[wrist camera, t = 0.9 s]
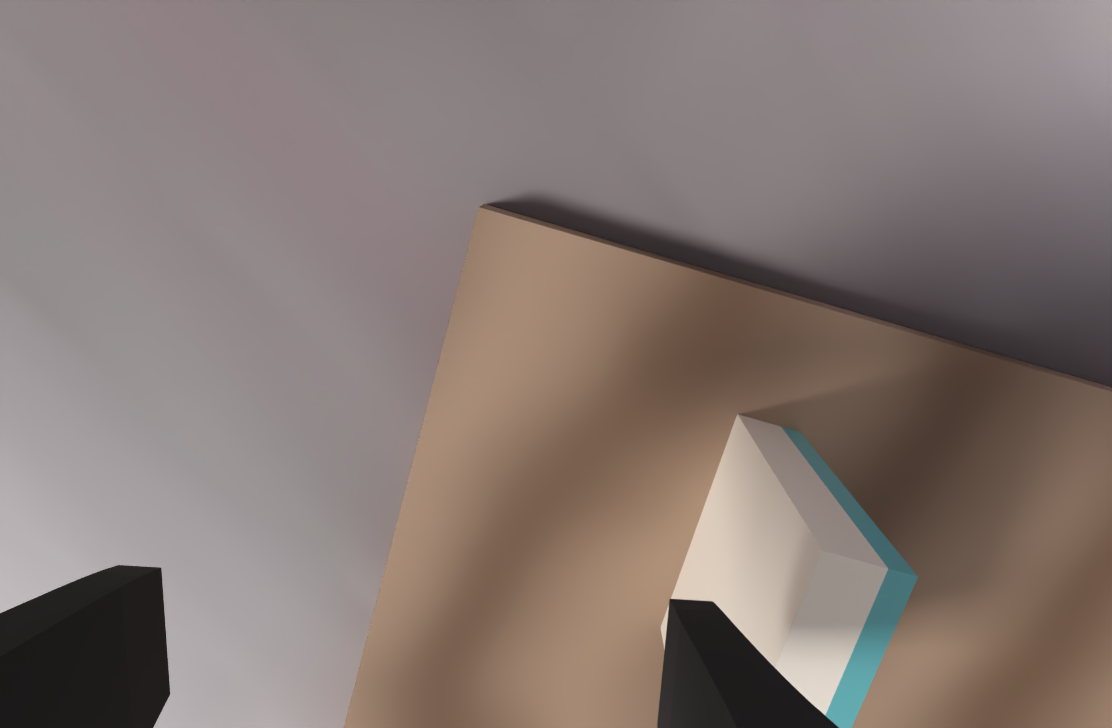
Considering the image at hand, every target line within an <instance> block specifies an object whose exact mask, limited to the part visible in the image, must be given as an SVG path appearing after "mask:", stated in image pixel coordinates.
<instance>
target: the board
mask: <svg viewBox="0 0 1112 728" xmlns="http://www.w3.org/2000/svg"><path fill="white" fill-rule="evenodd" d="M737 414H739V415H742V416H746V417H749V418H753V419H756V420H760V421H763V422H767V423H770V424H774V425H777V426H781V427H784V428H788V429H791V430H795V431H798V432H801V433H802V434H803V436H804V437H805V438H806V439H807V441H808V442H809V443H810V444H811V446H812V447H813V448H814V449H815V450H816V452H817V453H818V454H819V455H820V457H821V458H822V459H823V460H824V462H825V463H826V464H827V465H828V466H829V468H830V469H831V470H832V471H833V473H834V474H835V475H836V476H837V478H838V479H839V480H840V481H841V482H842V484H843V485H844V486H845V487H846V489H847V490H848V491H849V492H850V494H851V495H852V496H853V497H854V499H855V500H856V501H857V502H858V503H859V505H860V506H861V507H862V508H863V510H864V511H865V512H866V513H867V515H868V516H869V517H870V518H871V519H872V521H873V522H874V523H875V524H876V526H877V527H878V528H879V529H880V531H881V532H882V533H883V534H884V535H885V537H886V538H887V539H888V540H889V542H890V543H891V544H892V545H893V547H894V548H895V549H896V550H897V551H898V553H899V554H900V555H901V556H902V558H903V559H904V560H905V561H906V563H907V564H908V565H909V566H910V567H911V569H912V570H913V571H914V572H915V574H916V575H917V576H918V579H917V581H916V583H915V585H914V588H913V590H912V592H911V594H910V597H909V599H908V601H907V603H906V606H905V608H904V610H903V612H902V615H901V617H900V619H899V622H898V624H897V626H896V628H895V631H894V633H893V635H892V637H891V640H890V642H889V644H888V646H887V649H886V651H885V653H884V656H883V658H882V660H881V662H880V665H879V667H878V669H877V671H876V674H875V676H874V678H873V680H872V683H871V685H870V687H869V689H868V692H867V694H866V696H865V699H864V701H863V703H862V705H861V708H860V710H859V712H858V714H857V717H856V719H855V721H854V723H853V726H852V728H1112V387H1109V386H1106V385H1102V384H1099V383H1095V382H1092V381H1089V380H1085V379H1082V378H1078V377H1075V376H1072V375H1068V374H1065V373H1061V372H1058V371H1054V370H1051V369H1048V368H1044V367H1041V366H1037V365H1034V364H1030V363H1027V362H1024V361H1020V360H1017V359H1013V358H1010V357H1006V356H1003V355H1000V354H996V353H993V352H989V351H986V350H982V349H979V348H976V347H972V346H969V345H965V344H962V343H959V342H955V341H952V340H948V339H945V338H941V337H938V336H935V335H931V334H928V333H924V332H921V331H917V330H914V329H911V328H907V327H904V326H900V325H897V324H893V323H890V322H887V321H883V320H880V319H876V318H873V317H870V316H866V315H863V314H859V313H856V312H852V311H849V310H846V309H842V308H839V307H835V306H832V305H828V304H825V303H822V302H818V301H815V300H811V299H808V298H804V297H801V296H798V295H794V294H791V293H787V292H784V291H780V290H777V289H774V288H770V287H767V286H763V285H760V284H757V283H753V282H750V281H746V280H743V279H739V278H736V277H733V276H729V275H726V274H722V273H719V272H715V271H712V270H709V269H705V268H702V267H698V266H695V265H691V264H688V263H685V262H681V261H678V260H674V259H671V258H668V257H664V256H661V255H657V254H654V253H650V252H647V251H644V250H640V249H637V248H633V247H630V246H626V245H623V244H620V243H616V242H613V241H609V240H606V239H602V238H599V237H596V236H592V235H589V234H585V233H582V232H578V231H575V230H572V229H568V228H565V227H561V226H558V225H555V224H551V223H548V222H544V221H541V220H537V219H534V218H531V217H527V216H524V215H520V214H517V213H513V212H510V211H507V210H503V209H500V208H496V207H493V206H489V205H486V204H484V205H482V206H480V207H479V208H478V212H477V216H476V220H475V223H474V227H473V231H472V235H471V239H470V243H469V247H468V250H467V254H466V258H465V262H464V266H463V270H462V274H461V277H460V281H459V285H458V289H457V293H456V297H455V301H454V305H453V308H452V312H451V316H450V320H449V324H448V328H447V332H446V335H445V339H444V343H443V347H442V351H441V355H440V359H439V362H438V366H437V370H436V374H435V378H434V382H433V386H432V389H431V393H430V397H429V401H428V405H427V409H426V413H425V416H424V420H423V424H422V428H421V432H420V436H419V440H418V443H417V447H416V451H415V455H414V459H413V463H412V467H411V470H410V474H409V478H408V482H407V486H406V490H405V494H404V497H403V501H402V505H401V509H400V513H399V517H398V521H397V524H396V528H395V532H394V536H393V540H392V544H391V548H390V551H389V555H388V559H387V563H386V567H385V571H384V575H383V578H382V582H381V586H380V590H379V594H378V598H377V602H376V606H375V609H374V613H373V617H372V621H371V625H370V629H369V633H368V636H367V640H366V644H365V648H364V652H363V656H362V660H361V663H360V667H359V671H358V675H357V679H356V683H355V687H354V690H353V694H352V698H351V702H350V706H349V710H348V714H347V717H346V721H345V725H344V728H657V721H658V711H659V701H660V691H661V681H662V671H663V660H664V644H663V639H662V633H661V625H662V622H663V619H664V616H665V614H666V611H667V608H668V605H669V600H670V599H671V597H672V594H673V591H674V589H675V586H676V583H677V580H678V578H679V575H680V572H681V569H682V566H683V564H684V561H685V558H686V555H687V553H688V550H689V547H690V544H691V541H692V539H693V536H694V533H695V530H696V528H697V525H698V522H699V519H700V516H701V514H702V511H703V508H704V505H705V503H706V500H707V497H708V494H709V491H710V489H711V486H712V483H713V480H714V478H715V475H716V472H717V469H718V466H719V464H720V461H721V458H722V455H723V453H724V450H725V447H726V444H727V441H728V439H729V436H730V433H731V430H732V428H733V425H734V422H735V419H736V416H737Z"/></svg>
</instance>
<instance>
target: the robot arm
mask: <svg viewBox="0 0 1112 728" xmlns="http://www.w3.org/2000/svg"><path fill="white" fill-rule="evenodd" d="M169 695H170V686H169V672H168V658H167V644H166V630H165V615H164V601H163V587H162V573H161V568H156V567H139V566H123V565H118V566H115V567H111V568H108V569H105V570H102V571H99V572H97V573H94V574H91V575H89V576H86V577H84V578H81V579H79V580H76V581H74V582H71V583H69V584H67V585H64V586H62V587H60V588H57V589H55V590H53V591H50V592H48V593H46V594H43V595H41V596H39V597H37V598H34V599H32V600H30V601H27V602H25V603H23V604H21V605H18V606H16V607H14V608H11V609H9V610H7V611H5V612H2V613H0V728H153V727H154V725H155V723H156V721H157V719H158V717H159V715H160V713H161V711H162V709H163V707H164V705H165V703H166V701H167V699H168V697H169ZM657 728H839V727H838V726H836V725H835V724H834V723H833V722H832V721H831V720H830V719H829V718H827V717H826V716H825V715H824V714H823V713H822V712H821V711H820V710H818V709H817V708H816V707H815V706H814V705H813V704H812V703H811V702H809V701H808V700H807V699H806V698H805V697H804V696H803V695H802V694H801V693H800V692H799V691H798V690H797V689H796V688H795V687H794V686H793V685H792V684H791V683H790V682H789V681H788V680H787V679H786V678H784V677H783V676H782V675H781V674H780V672H779V671H778V670H777V669H776V668H775V667H774V666H773V665H772V664H771V663H770V662H769V661H768V660H767V659H766V658H765V657H764V656H763V655H762V654H761V653H760V652H759V651H758V650H757V649H756V648H755V646H754V645H753V644H752V643H751V642H750V641H749V640H748V639H747V638H746V637H745V636H744V635H743V633H742V632H741V631H740V630H739V629H738V628H737V627H736V626H735V625H734V624H733V622H732V621H731V620H730V619H729V618H728V617H727V616H726V615H725V614H724V612H723V611H722V610H721V609H720V608H719V607H718V606H717V605H716V604H715V603H714V602H713V601H699V600H683V599H670V600H669V610H668V620H667V630H666V640H665V650H664V660H663V671H662V681H661V691H660V701H659V711H658V721H657Z"/></svg>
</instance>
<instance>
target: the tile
mask: <svg viewBox="0 0 1112 728" xmlns="http://www.w3.org/2000/svg"><path fill="white" fill-rule="evenodd" d="M917 579H918V576H917V575H916V574H915V572H914V571H913V570H912V569H911V567H910V566H909V565H908V564H907V563H906V561H905V560H904V559H903V558H902V556H901V555H900V554H899V553H898V551H897V550H896V549H895V548H894V547H893V545H892V544H891V543H890V542H889V540H888V539H887V538H886V537H885V535H884V534H883V533H882V532H881V531H880V529H879V528H878V527H877V526H876V524H875V523H874V522H873V521H872V519H871V518H870V517H869V516H868V515H867V513H866V512H865V511H864V510H863V508H862V507H861V506H860V505H859V503H858V502H857V501H856V500H855V499H854V497H853V496H852V495H851V494H850V492H849V491H848V490H847V489H846V487H845V486H844V485H843V484H842V482H841V481H840V480H839V479H838V478H837V476H836V475H835V474H834V473H833V471H832V470H831V469H830V468H829V466H828V465H827V464H826V463H825V462H824V460H823V459H822V458H821V457H820V455H819V454H818V453H817V452H816V450H815V449H814V448H813V447H812V446H811V444H810V443H809V442H808V441H807V439H806V438H805V437H804V436H803V434H802V433H801V432H798V431H795V430H791V429H788V428H784V427H781V426H777V425H774V424H770V423H767V422H763V421H760V420H756V419H753V418H749V417H746V416H742V415H739V414H737V416H736V419H735V422H734V425H733V428H732V430H731V433H730V436H729V439H728V441H727V444H726V447H725V450H724V453H723V455H722V458H721V461H720V464H719V466H718V469H717V472H716V475H715V478H714V480H713V483H712V486H711V489H710V491H709V494H708V497H707V500H706V503H705V505H704V508H703V511H702V514H701V516H700V519H699V522H698V525H697V528H696V530H695V533H694V536H693V539H692V541H691V544H690V547H689V550H688V553H687V555H686V558H685V561H684V564H683V566H682V569H681V572H680V575H679V578H678V580H677V583H676V586H675V589H674V591H673V594H672V597H671V599H683V600H699V601H713V602H714V603H715V604H716V605H717V606H718V607H719V608H720V609H721V610H722V611H723V612H724V614H725V615H726V616H727V617H728V618H729V619H730V620H731V621H732V622H733V624H734V625H735V626H736V627H737V628H738V629H739V630H740V631H741V632H742V633H743V635H744V636H745V637H746V638H747V639H748V640H749V641H750V642H751V643H752V644H753V645H754V646H755V648H756V649H757V650H758V651H759V652H760V653H761V654H762V655H763V656H764V657H765V658H766V659H767V660H768V661H769V662H770V663H771V664H772V665H773V666H774V667H775V668H776V669H777V670H778V671H779V672H780V674H781V675H782V676H783V677H784V678H786V679H787V680H788V681H789V682H790V683H791V684H792V685H793V686H794V687H795V688H796V689H797V690H798V691H799V692H800V693H801V694H802V695H803V696H804V697H805V698H806V699H807V700H808V701H809V702H811V703H812V704H813V705H814V706H815V707H816V708H817V709H818V710H820V711H821V712H822V713H823V714H824V715H825V716H826V717H827V718H829V719H830V720H831V721H832V722H833V723H834V724H835V725H836V726H838V727H839V728H852V726H853V723H854V721H855V719H856V717H857V714H858V712H859V710H860V708H861V705H862V703H863V701H864V699H865V696H866V694H867V692H868V689H869V687H870V685H871V683H872V680H873V678H874V676H875V674H876V671H877V669H878V667H879V665H880V662H881V660H882V658H883V656H884V653H885V651H886V649H887V646H888V644H889V642H890V640H891V637H892V635H893V633H894V631H895V628H896V626H897V624H898V622H899V619H900V617H901V615H902V612H903V610H904V608H905V606H906V603H907V601H908V599H909V597H910V594H911V592H912V590H913V588H914V585H915V583H916V581H917ZM668 610H669V605H668V608H667V611H666V614H665V616H664V619H663V622H662V625H661V633H662V639H663V644H664V650H665V640H666V630H667V620H668Z"/></svg>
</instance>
